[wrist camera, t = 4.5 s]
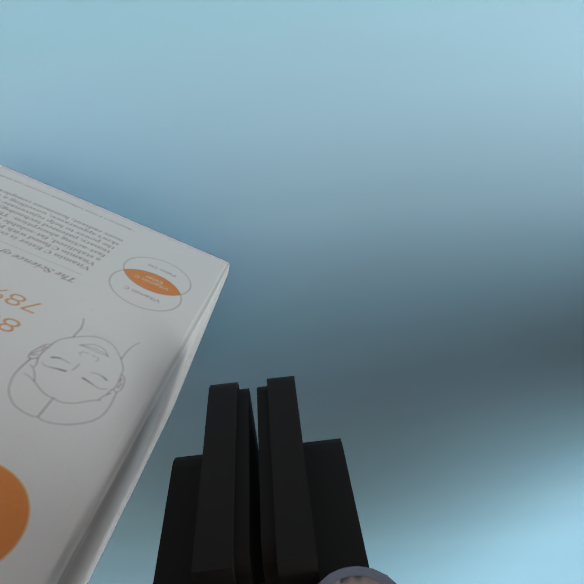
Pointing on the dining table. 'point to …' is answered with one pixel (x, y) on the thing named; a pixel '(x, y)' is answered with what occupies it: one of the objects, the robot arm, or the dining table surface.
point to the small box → (85, 369)
